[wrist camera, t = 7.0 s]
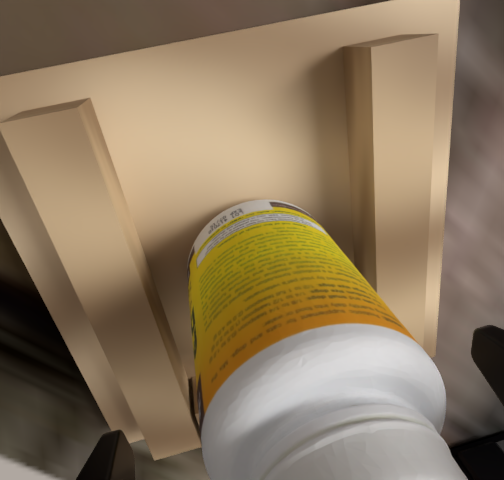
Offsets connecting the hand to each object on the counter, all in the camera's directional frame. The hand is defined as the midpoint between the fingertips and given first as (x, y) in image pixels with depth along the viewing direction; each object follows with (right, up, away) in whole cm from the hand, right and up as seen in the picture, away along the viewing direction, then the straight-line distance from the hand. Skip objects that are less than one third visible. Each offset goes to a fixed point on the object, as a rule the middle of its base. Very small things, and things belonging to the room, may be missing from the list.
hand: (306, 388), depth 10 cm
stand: (-1, +3, +7) cm, 8 cm away
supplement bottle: (-1, +3, +6) cm, 7 cm away
